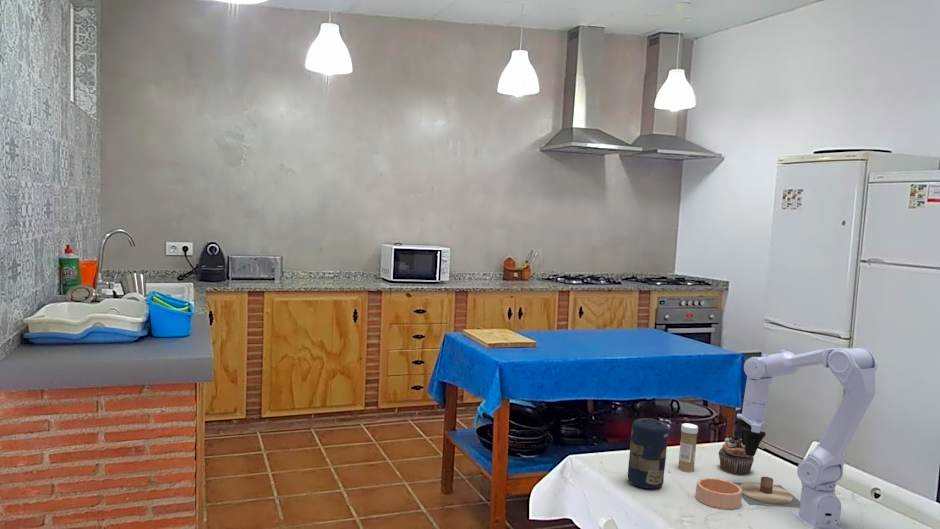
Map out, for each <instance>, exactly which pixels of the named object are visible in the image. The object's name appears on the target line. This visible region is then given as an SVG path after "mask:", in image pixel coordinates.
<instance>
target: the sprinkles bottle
mask: <svg viewBox="0 0 940 529" xmlns="http://www.w3.org/2000/svg"><path fill="white" fill-rule="evenodd" d="M680 426H681V428H680V434H681V435H680V442H679V455H678V466H677V469H678V470H679V471H681V472H685V473H694V472H695V462H696V453H697V452H696V449H697V448H696V447H697V437H698V432H699V426H698V425H696V424H693V423H687V422H685V423H681V425H680Z"/></svg>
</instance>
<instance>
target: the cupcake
mask: <svg viewBox="0 0 940 529" xmlns="http://www.w3.org/2000/svg"><path fill="white" fill-rule="evenodd" d="M754 457H755V456H750V455H746V453H745V445H742V437H734V436H731V435H729V436H727V437H726V438H724V443H723V445H722V447H721V448H720V449H719V451H718V458H719V459H718V460H719V468H720V469H721V470H722V471H723V472H726V473H728V474H732V475H736V476H737V475H738V476H747V475H749V474H750V473H751V469H752V466H753V464H754V461H755V458H754Z"/></svg>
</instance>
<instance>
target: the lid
mask: <svg viewBox="0 0 940 529" xmlns="http://www.w3.org/2000/svg"><path fill="white" fill-rule="evenodd" d="M742 483H743V484H741V485H740V488H741V489H742V494H743V495H745V496H746V497H748V498H751V499H753V500H756V501H759V502H763V503H768V504H776V505H784V504H789V503H791V502H792V501H793V496H794V495H793V494H792V493H791V492H789V491H788V490H787V489H786V490H787V491H786V490H784V489H785V488H784V489H782V488H780V487H777V486H774V485H775V484H774V479H773V478H772V477H770V476H761V478H760V482H757V481H756V482H755V481H752V482H751V481H747V482H742ZM792 495H793V496H792Z"/></svg>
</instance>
